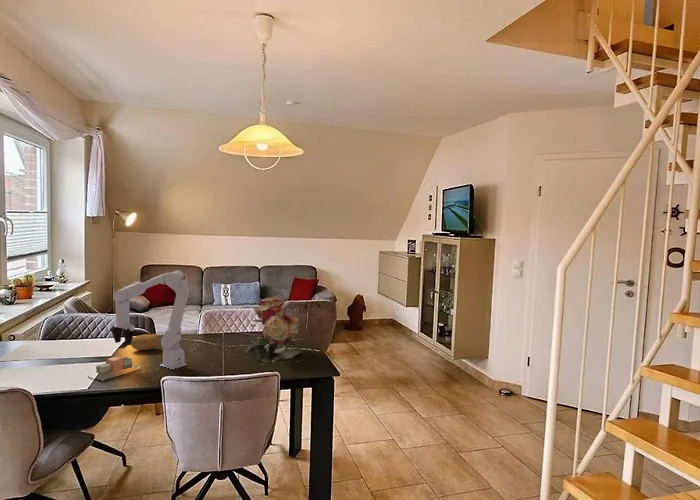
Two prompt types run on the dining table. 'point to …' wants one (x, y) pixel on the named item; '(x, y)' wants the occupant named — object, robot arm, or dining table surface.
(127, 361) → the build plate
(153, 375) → the dining table surface
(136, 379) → the dining table surface
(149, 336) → the potato
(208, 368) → the dining table surface
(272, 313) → the rose bouquet
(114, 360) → the terracotta block
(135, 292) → the robot arm
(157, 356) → the dining table surface
